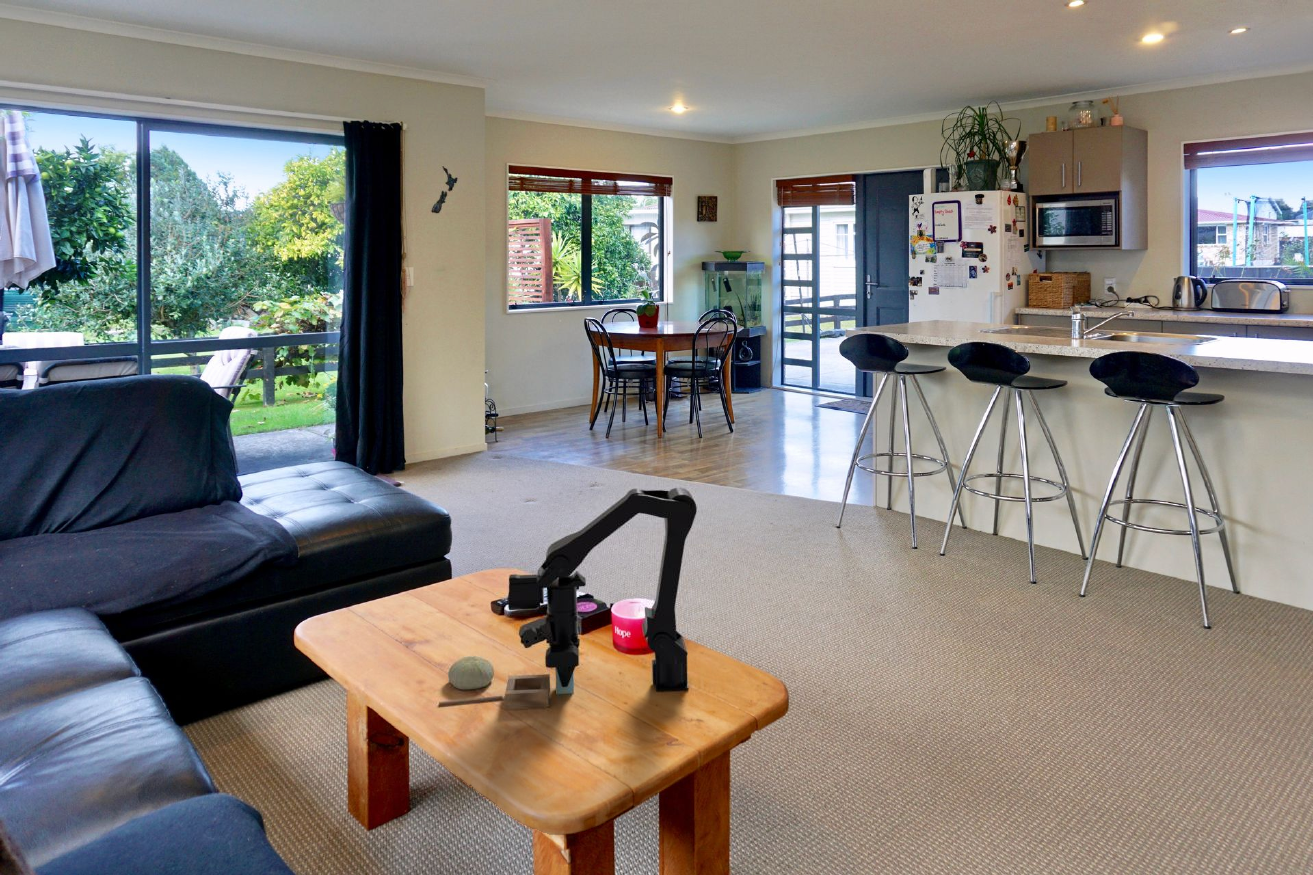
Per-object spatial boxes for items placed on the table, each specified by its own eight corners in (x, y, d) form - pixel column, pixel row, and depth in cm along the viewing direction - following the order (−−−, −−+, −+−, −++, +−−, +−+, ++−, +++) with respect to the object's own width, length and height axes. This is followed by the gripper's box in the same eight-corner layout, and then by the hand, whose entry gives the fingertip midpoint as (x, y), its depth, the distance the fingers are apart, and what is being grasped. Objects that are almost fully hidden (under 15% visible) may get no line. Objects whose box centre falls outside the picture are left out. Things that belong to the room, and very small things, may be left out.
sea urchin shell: (449, 688, 183) (446, 649, 187) (449, 702, 189) (446, 665, 193) (497, 681, 185) (492, 643, 189) (495, 696, 191) (491, 659, 196)
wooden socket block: (550, 689, 185) (549, 674, 185) (548, 707, 178) (547, 692, 177) (509, 690, 185) (508, 675, 184) (505, 709, 177) (504, 693, 177)
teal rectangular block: (574, 685, 187) (572, 645, 185) (573, 693, 184) (572, 652, 182) (557, 686, 187) (555, 646, 185) (556, 693, 183) (554, 653, 182)
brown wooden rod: (502, 697, 182) (502, 695, 182) (502, 699, 182) (502, 696, 181) (439, 704, 180) (439, 701, 180) (439, 705, 179) (439, 703, 179)
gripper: (524, 592, 191) (527, 664, 194) (516, 626, 172) (520, 706, 175) (579, 590, 191) (581, 662, 194) (577, 624, 173) (579, 703, 176)
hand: (565, 682), depth 185 cm, fingers closed on teal rectangular block, 3 cm apart
